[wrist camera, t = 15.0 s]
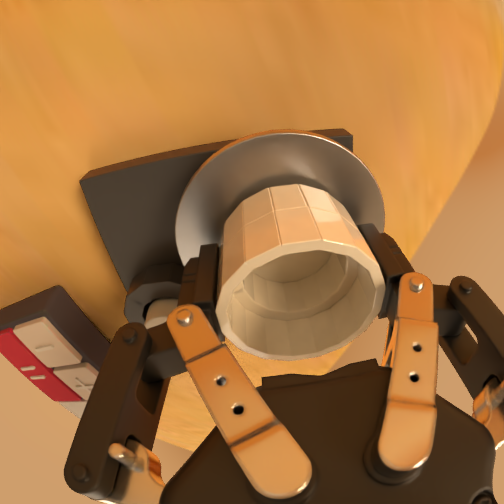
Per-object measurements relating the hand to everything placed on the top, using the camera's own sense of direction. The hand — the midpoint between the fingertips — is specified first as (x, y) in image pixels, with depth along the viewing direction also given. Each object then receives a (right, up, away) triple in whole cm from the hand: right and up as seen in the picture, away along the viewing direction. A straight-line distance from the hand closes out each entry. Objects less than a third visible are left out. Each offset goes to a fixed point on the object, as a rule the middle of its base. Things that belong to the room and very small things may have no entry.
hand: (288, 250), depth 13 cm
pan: (0, +1, +1) cm, 1 cm away
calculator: (-19, -10, +12) cm, 24 cm away
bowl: (0, 0, +1) cm, 1 cm away
